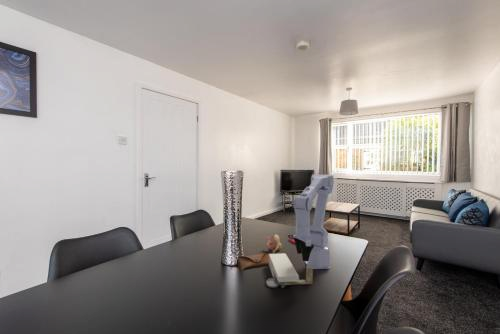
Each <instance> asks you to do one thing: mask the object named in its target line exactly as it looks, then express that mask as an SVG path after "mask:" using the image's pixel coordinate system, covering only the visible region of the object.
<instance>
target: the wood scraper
mask: <svg viewBox="0 0 500 334" xmlns="http://www.w3.org/2000/svg"><path fill="white" fill-rule="evenodd" d="M313 272H314V269H313V268H312V267H311V266H307V265H306V266H305V279H299V281H293V282H279V286H280V288H281V289H283V288H285V287H286V286H287V285H289V286H291V285H293V286H294V285H313V281H314V279H313V278H314V277H313Z"/></svg>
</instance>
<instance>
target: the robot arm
mask: <svg viewBox="0 0 500 334" xmlns="http://www.w3.org/2000/svg"><path fill="white" fill-rule="evenodd" d="M334 182H335V181H334V176H333V175H332V174H318V173H317V174H315V173H312V175H311V177H310V184H309V186H306V187H305V188H304V190H303V191H302V192H301V193H300V194H299V195H297V196H296V197H294V199H293V203H292V204H293V208H294V214H295V233H294V234H295V235H293V238H292V239H294V241H295V244H296V245H295V244H294V245H295V249H296V253H297V254H298V255H299V254H301V257H302V261H303V262H304V263H305V264H306V266H311V267H312V268H313V270H323V269H324V270H325V269H326V270H327V269H330V268H331V267H330V252H329V251H330V249H329V248H328V247H327V246H328V240H329V239H328V236H329V235H328V234H329V233H328V231H327V230H326V229H325V228H324V222H325V217H326V216H325V215H326V209H327V202H328V198H329V195H330V194H332V192H333V190H334V189H333V188H334ZM316 197H317V199H316V203H315V210H314V215H313V219H312V223H311V210H312V209H313V204H314V200H315V198H316ZM328 249H329V250H328Z"/></svg>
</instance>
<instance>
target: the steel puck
mask: <svg viewBox="0 0 500 334" xmlns="http://www.w3.org/2000/svg"><path fill="white" fill-rule="evenodd" d="M266 286H267V287H269V288H271V289H272V288H274V289H275V288H278V287H279V286H280V285H279V282H278V280H277V278H273V277H271V278H267V279H266Z"/></svg>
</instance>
